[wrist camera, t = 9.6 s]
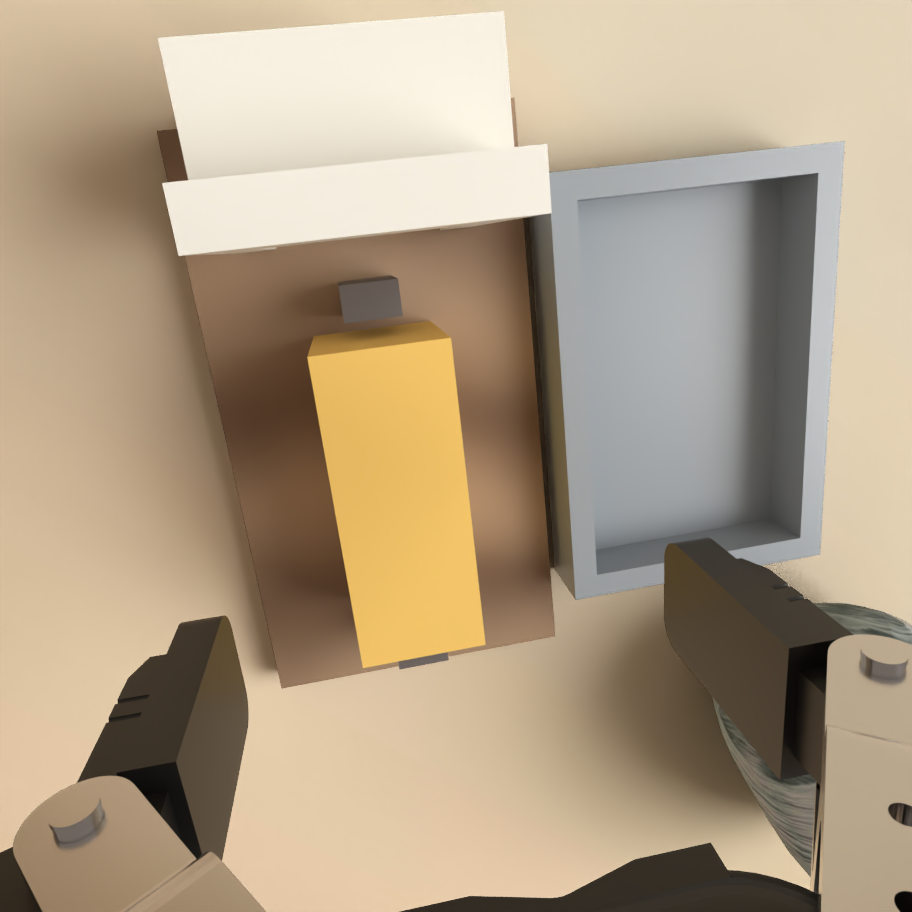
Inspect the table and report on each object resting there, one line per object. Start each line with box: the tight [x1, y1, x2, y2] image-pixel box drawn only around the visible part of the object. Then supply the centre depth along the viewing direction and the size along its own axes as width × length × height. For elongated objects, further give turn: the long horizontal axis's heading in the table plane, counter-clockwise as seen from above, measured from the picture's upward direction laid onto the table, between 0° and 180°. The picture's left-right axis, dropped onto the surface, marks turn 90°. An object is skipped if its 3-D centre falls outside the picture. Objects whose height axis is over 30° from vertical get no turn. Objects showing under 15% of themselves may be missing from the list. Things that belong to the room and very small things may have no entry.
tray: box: [529, 141, 845, 600], centre depth 23 cm, size 14×9×2 cm
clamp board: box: [157, 98, 555, 688], centre depth 21 cm, size 18×10×3 cm, turn 6°
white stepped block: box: [158, 11, 552, 256], centre depth 16 cm, size 4×7×8 cm, turn 96°
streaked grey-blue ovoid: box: [713, 603, 912, 877], centre depth 26 cm, size 14×10×10 cm
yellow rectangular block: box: [307, 321, 486, 668], centre depth 20 cm, size 9×4×4 cm, turn 6°
